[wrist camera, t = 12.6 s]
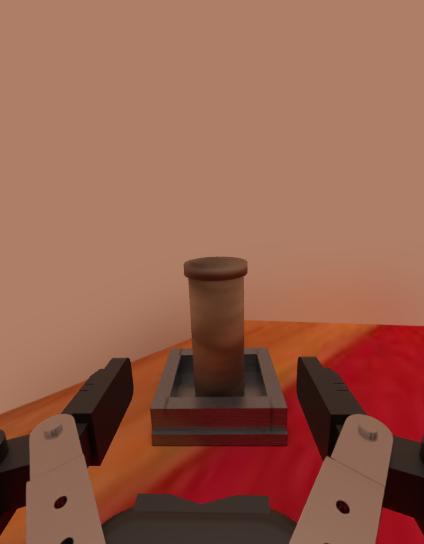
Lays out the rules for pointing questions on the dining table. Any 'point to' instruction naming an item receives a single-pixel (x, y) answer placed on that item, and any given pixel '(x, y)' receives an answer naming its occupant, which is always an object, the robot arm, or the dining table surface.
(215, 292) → the brown capped cylinder
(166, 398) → the grey square tray
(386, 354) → the dining table surface
